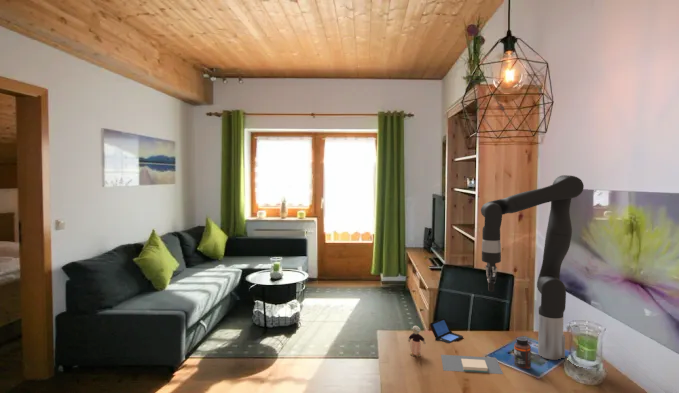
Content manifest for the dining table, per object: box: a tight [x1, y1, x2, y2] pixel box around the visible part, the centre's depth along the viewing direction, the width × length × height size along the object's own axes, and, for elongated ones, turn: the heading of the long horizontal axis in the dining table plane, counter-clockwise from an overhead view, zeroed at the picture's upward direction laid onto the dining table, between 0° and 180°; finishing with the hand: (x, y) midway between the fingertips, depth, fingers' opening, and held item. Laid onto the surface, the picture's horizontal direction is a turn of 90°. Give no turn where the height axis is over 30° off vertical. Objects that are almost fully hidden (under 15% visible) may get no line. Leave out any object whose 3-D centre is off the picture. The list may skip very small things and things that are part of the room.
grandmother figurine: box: [407, 325, 426, 358], centre depth 176 cm, size 8×4×13 cm, turn 73°
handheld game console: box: [429, 317, 464, 344], centre depth 193 cm, size 12×11×7 cm
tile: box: [461, 359, 488, 372], centre depth 163 cm, size 9×2×7 cm
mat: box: [440, 354, 504, 375], centre depth 166 cm, size 22×14×1 cm, turn 80°
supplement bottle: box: [513, 336, 532, 370], centre depth 164 cm, size 6×6×11 cm
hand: (491, 291), depth 174 cm, fingers closed
